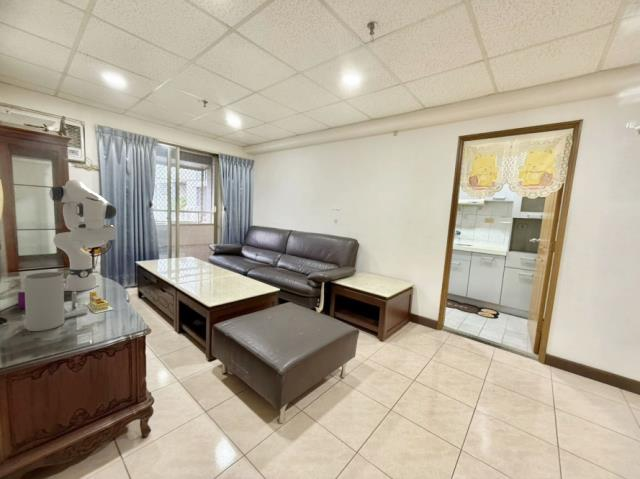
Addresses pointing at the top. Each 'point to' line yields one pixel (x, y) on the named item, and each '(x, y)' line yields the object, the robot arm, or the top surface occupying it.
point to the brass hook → (98, 301)
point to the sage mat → (97, 310)
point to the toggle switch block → (74, 307)
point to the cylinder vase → (44, 300)
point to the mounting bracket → (21, 300)
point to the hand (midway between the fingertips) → (93, 247)
